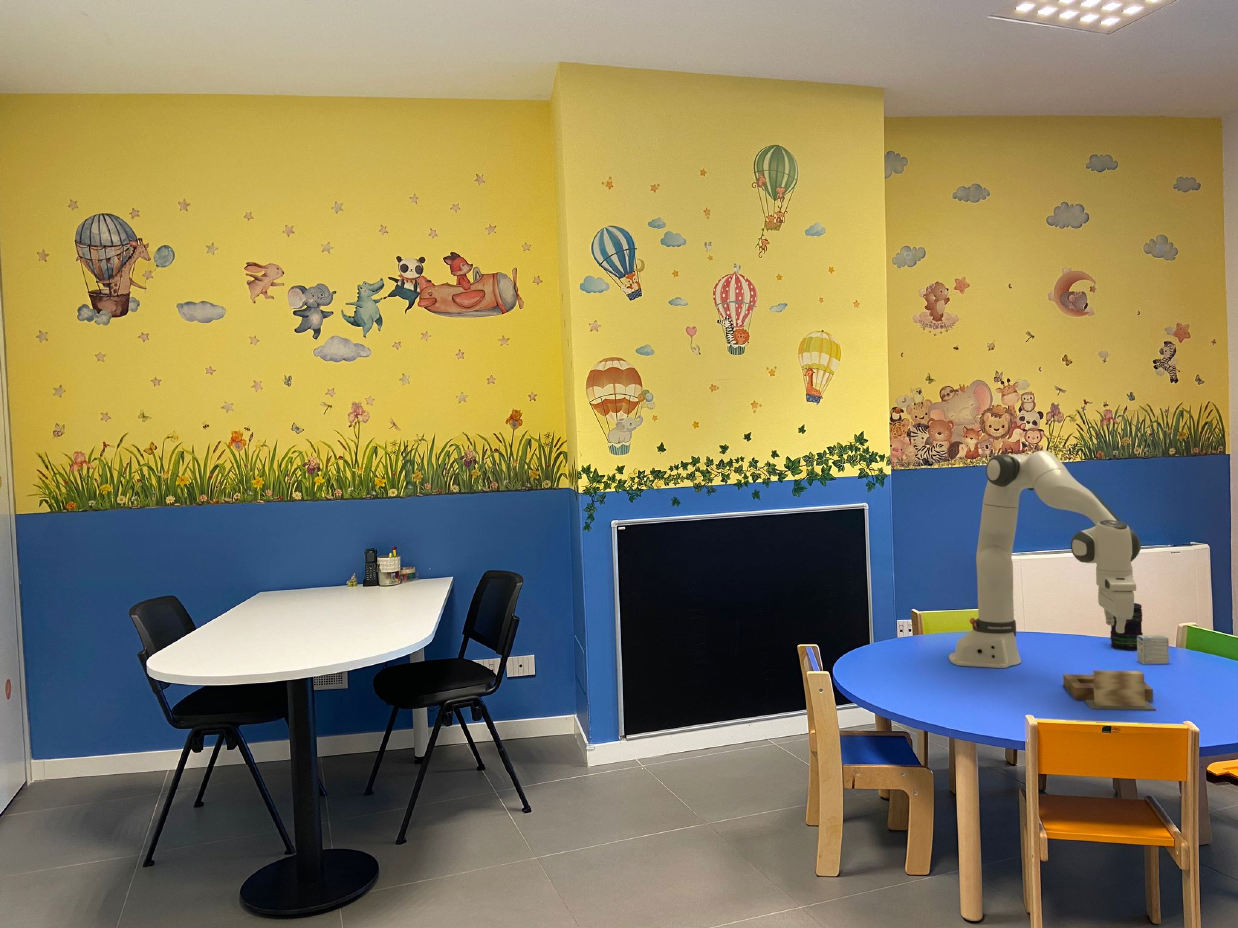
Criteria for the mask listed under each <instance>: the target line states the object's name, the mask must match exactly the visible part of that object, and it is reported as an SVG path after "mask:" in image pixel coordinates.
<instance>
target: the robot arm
mask: <svg viewBox="0 0 1238 928" xmlns="http://www.w3.org/2000/svg"><path fill="white" fill-rule="evenodd" d="M985 467H986V468H985V474H986V478H987V483H986V485H985V489H984V493H983V494H984V495H983V499H982V509H981V516H980V525H979V533H978V541H977V548H976V555H975V562H976V574H977V575H976V579H977V581H976V583H977V608H978V610H977V611H978V613H977V615H978V618H976V619H975V618H974V617H971V618H970V619H969V623H970V624H971V625H972V630H970V631H969V632H968V633H966V634H965V635H963V636H962V637H961V638H959V639H958V640H957V643H956V645H955V652H952V653H950V654H949V656H948V660H949V661H950V663H952V664H953V665H956V666H959V667H960V666H961V667H963V666H964V667H978V668H994V669H995V668H998V669H1006V668H1008V667H1011V666H1017V665H1019V664H1021V662H1022V660H1021V657H1020V654H1019V650H1018V645H1017V640H1016V637H1017V622H1016V619H1015V612H1014V611H1015V609H1014V607H1015V606H1014V563H1013V559H1012V555H1013V550H1014V549H1013V548H1014V542H1015V536H1016V532H1017V523H1018V514H1019V507H1020V506H1019V504H1020V496H1021V492H1022V491H1023V490H1026V489H1027V490H1029V491H1031V492H1032V491H1034V492H1035V493H1036V495H1037V497H1038V498H1039V499H1040V500H1041V501H1042V502H1043V503H1044V504H1045V505H1047V506H1048V507H1051V508H1053V509H1058V510H1064V511H1069V512H1074V513H1078V514H1081V515H1084V516H1086V517H1087V518H1088V519H1089V520H1091V521H1092V522H1093V523H1094V525H1095V526H1093V527H1089V528H1088V529H1084V530H1079V531H1077V532H1075V534H1073V536H1072V539H1071V542H1070V548H1071V549H1070V550H1071V553H1072V555H1073V557H1074V558H1075V559H1076V560H1077V561H1079V562H1080V563H1085V564H1096V568H1095V571H1096V572H1095V574H1096V575H1095V577H1096V578H1095V579H1096V580H1095V581H1096V583H1095V584H1096V586H1098V587H1097V588H1098V590H1097V591H1098V594H1097V599H1098V600H1097V601H1098V605H1099V607H1101V608H1102V609H1103V612H1104V617H1105V624H1106V625H1107V626H1111V625H1114V618H1113V615H1114V616H1115V617H1116V620H1117V624H1116V632H1118V633H1124V627H1125V624H1126V619H1132V617H1133V611H1134V603H1135V593H1134V592H1135V591H1137V583H1136V582H1135V579H1134V576H1133V572H1134V571H1133V566H1132V562H1133V561H1134V560H1135V559H1136V558H1137V557H1138V555H1139V554H1140V551H1141V547H1142V543H1141V539H1140V538H1139V536H1138V534H1137V533H1136V532H1135V531H1134V530H1133V529H1132V528H1130V527H1129V525H1128V524H1127V523H1125V522H1124V521H1121V520H1120V518H1119V517H1118V516H1117V515H1116V514H1115V513H1114V512H1113V511H1112V510H1111V509H1110V507H1108V505H1107V504H1106V503H1105V502H1104V501H1103V500H1102V499H1101V497H1099V496H1098V495H1097V494H1096V493H1094V492H1093V491H1092V490H1091V489H1089V488H1087V487H1085V486H1084V485H1082V484H1081V483H1080V482H1078V481H1077V479H1075V478H1074V477H1073V476H1072V475H1071V473H1070V472H1069V470H1068V469H1067V468H1066V466H1065V465H1064V464H1063V462H1061V460H1060V459H1059V458H1058V457H1057V456H1055V455H1054V453H1052V452H1050V451H1049V450H1037V451H1035V452H1032V453H1031V454H1027V453H1026V454H1025V453H1024V454H1023V453H1020V454H1017V453H1016V454H1005V453H1003V454H1002V453H1000V454H996V455H993V456H992V457H991V458H990V459H989V460H988V461H987V464H986V466H985Z"/></svg>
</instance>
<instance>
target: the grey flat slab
mask: <svg viewBox="0 0 1238 928" xmlns="http://www.w3.org/2000/svg"><path fill="white" fill-rule="evenodd" d="M1084 703H1086V704H1087V706H1088V707H1089V709H1091V710H1101V711H1102V710H1104V711H1105V710H1106V711H1108V710H1109V711H1146V712H1147V711H1150V712H1151V711H1152V712H1153V711H1154V712H1155V711H1157V709H1156V707H1155V706H1153V705H1152V704H1151V703H1150V701H1145V706H1102V705H1097V704H1096V703H1095V702H1094V700H1084Z"/></svg>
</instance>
